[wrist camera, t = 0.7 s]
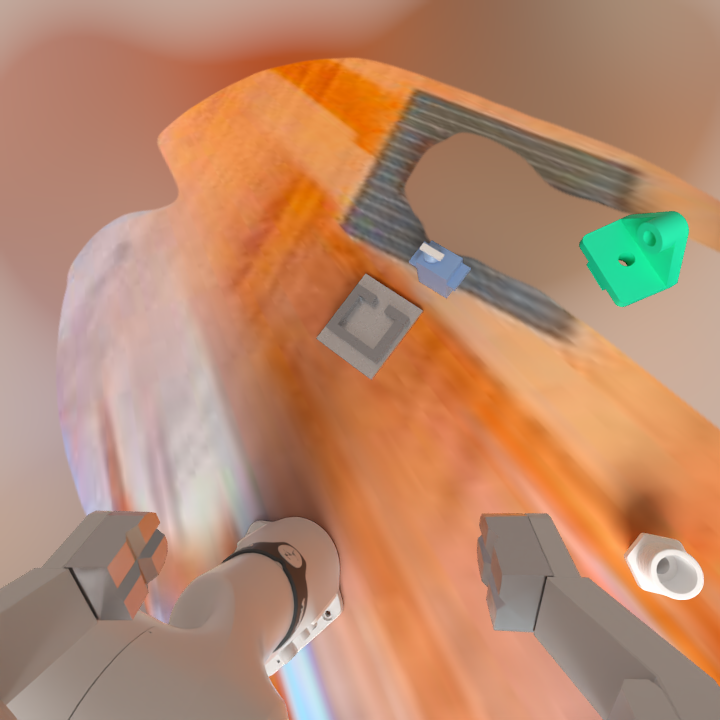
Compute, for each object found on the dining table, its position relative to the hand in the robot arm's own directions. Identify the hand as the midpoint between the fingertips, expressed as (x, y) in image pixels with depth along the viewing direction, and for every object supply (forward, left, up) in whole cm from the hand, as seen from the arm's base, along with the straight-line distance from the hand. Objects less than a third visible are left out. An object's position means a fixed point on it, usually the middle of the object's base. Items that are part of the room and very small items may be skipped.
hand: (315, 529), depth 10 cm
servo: (+24, +15, -51) cm, 59 cm away
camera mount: (+40, -6, -52) cm, 66 cm away
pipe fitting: (+7, -29, -51) cm, 60 cm away
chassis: (+11, +20, -51) cm, 56 cm away
